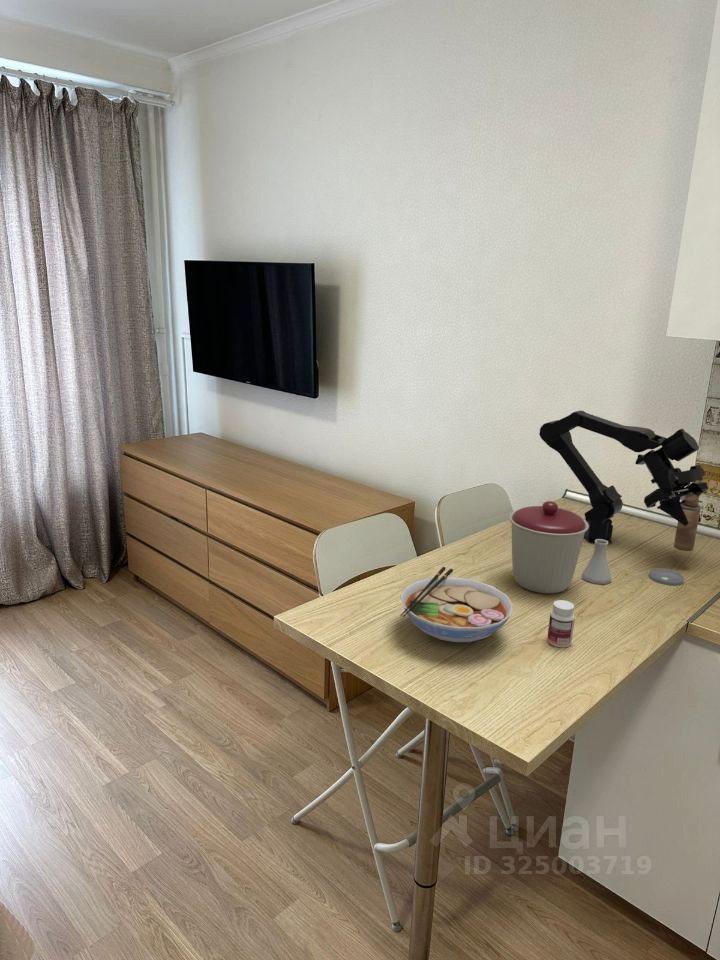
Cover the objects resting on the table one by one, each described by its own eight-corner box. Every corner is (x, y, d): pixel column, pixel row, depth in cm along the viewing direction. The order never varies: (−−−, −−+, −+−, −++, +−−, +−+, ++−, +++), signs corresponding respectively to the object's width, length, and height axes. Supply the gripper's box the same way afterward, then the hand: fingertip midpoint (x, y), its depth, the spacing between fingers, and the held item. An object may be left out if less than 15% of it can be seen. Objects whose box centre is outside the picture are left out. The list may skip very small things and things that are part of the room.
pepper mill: (678, 551, 170) (688, 496, 165) (670, 544, 174) (679, 491, 170) (696, 551, 170) (706, 497, 166) (687, 544, 174) (697, 491, 170)
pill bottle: (552, 633, 138) (557, 596, 136) (574, 641, 135) (580, 604, 133) (542, 642, 134) (547, 604, 132) (565, 650, 132) (570, 612, 129)
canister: (550, 565, 172) (559, 487, 166) (596, 595, 156) (608, 510, 150) (488, 573, 166) (496, 493, 160) (530, 606, 150) (540, 517, 144)
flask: (606, 587, 160) (611, 549, 157) (576, 579, 164) (581, 541, 162) (615, 578, 166) (621, 540, 163) (586, 570, 170) (591, 533, 167)
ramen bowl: (487, 678, 121) (491, 638, 119) (376, 644, 132) (378, 606, 129) (525, 622, 142) (529, 587, 140) (426, 596, 153) (429, 563, 150)
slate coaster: (657, 584, 163) (657, 581, 162) (643, 571, 170) (643, 567, 170) (689, 585, 163) (690, 581, 163) (673, 572, 170) (674, 568, 170)
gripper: (661, 458, 164) (694, 514, 158) (708, 451, 173) (741, 504, 167) (630, 480, 173) (660, 534, 167) (676, 472, 182) (706, 523, 176)
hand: (693, 523), depth 169 cm, fingers closed on pepper mill, 5 cm apart
